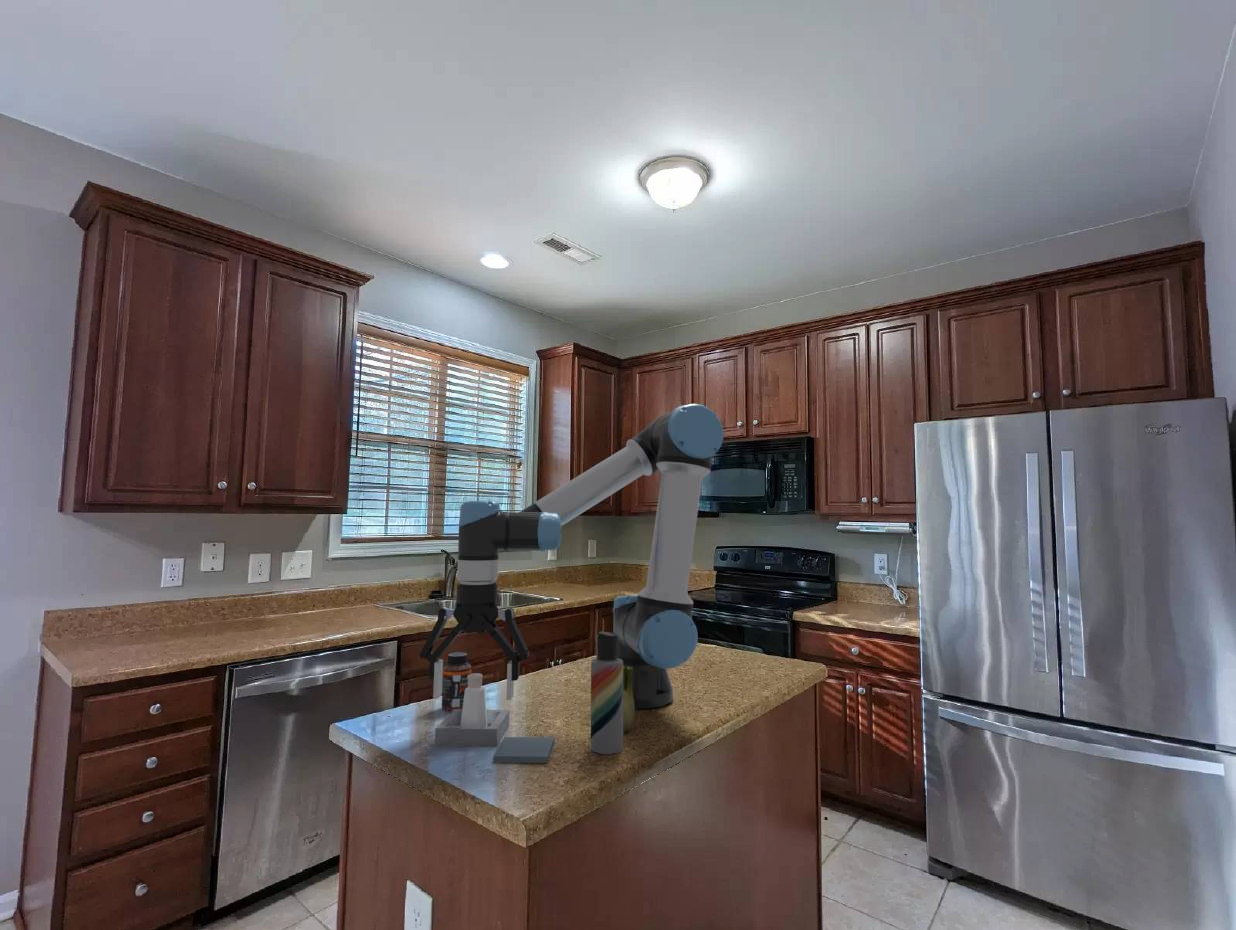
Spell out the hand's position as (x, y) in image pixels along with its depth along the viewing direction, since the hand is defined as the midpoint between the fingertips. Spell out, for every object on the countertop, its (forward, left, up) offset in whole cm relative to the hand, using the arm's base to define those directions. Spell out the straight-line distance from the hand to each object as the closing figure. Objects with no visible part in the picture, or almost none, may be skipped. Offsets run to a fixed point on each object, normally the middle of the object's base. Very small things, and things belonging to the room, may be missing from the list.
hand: (473, 697), depth 113 cm
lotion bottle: (-25, +6, -7) cm, 27 cm away
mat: (-11, +8, -7) cm, 15 cm away
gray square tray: (0, 0, -7) cm, 7 cm away
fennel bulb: (-27, -3, -7) cm, 28 cm away
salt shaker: (0, 0, -7) cm, 7 cm away
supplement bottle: (+8, -16, -7) cm, 19 cm away
